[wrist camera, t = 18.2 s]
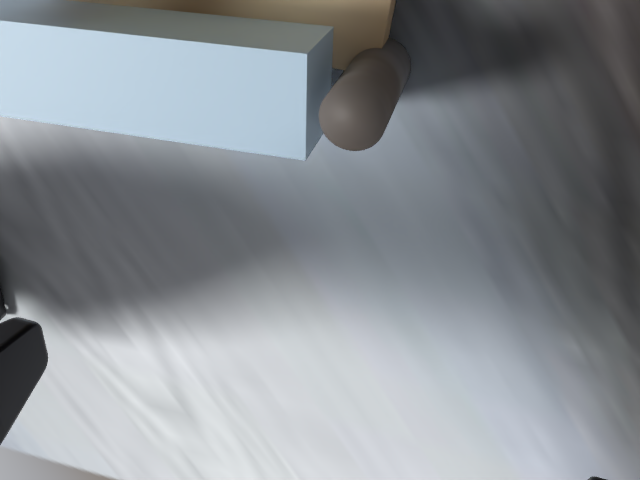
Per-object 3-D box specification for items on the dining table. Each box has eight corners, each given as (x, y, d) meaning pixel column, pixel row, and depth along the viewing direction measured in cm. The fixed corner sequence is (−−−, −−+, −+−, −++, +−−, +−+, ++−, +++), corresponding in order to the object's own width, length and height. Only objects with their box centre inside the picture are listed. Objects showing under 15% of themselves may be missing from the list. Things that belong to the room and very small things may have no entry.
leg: (333, 26, 18) (306, 53, 15) (330, 123, 19) (305, 160, 17) (7, -6, 20) (-58, 14, 17) (29, 83, 21) (-28, 112, 19)
